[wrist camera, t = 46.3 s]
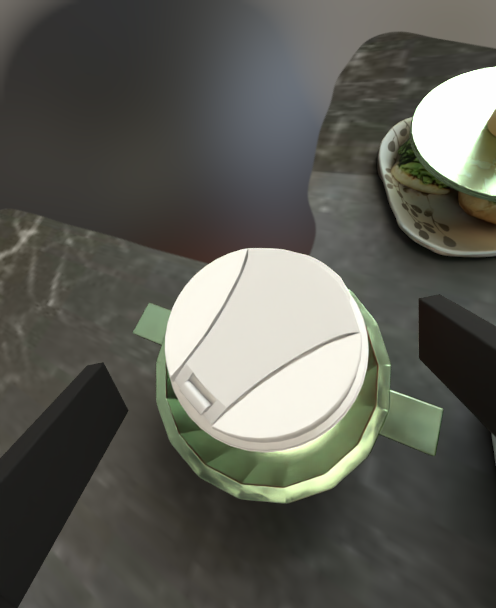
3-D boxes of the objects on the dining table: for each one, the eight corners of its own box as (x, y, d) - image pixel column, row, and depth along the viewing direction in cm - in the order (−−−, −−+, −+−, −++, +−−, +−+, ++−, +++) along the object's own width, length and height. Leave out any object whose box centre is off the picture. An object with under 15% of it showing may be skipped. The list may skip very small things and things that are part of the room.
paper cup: (285, 454, 20) (261, 525, 7) (216, 380, 23) (111, 338, 10) (353, 374, 21) (432, 316, 9) (279, 313, 24) (256, 201, 11)
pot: (209, 278, 27) (179, 233, 21) (415, 341, 22) (468, 308, 15) (144, 413, 24) (80, 412, 17) (374, 529, 18) (419, 599, 11)
